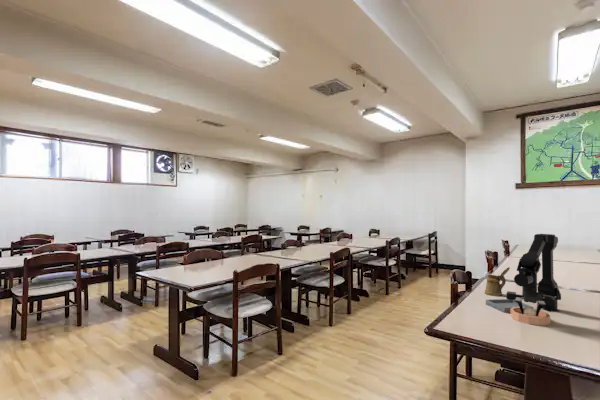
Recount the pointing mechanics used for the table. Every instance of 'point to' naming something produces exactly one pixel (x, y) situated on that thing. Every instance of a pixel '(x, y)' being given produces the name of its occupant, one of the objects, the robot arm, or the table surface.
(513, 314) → the bowl
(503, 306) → the tray
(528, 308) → the ball
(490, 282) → the wooden mug
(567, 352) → the table surface
